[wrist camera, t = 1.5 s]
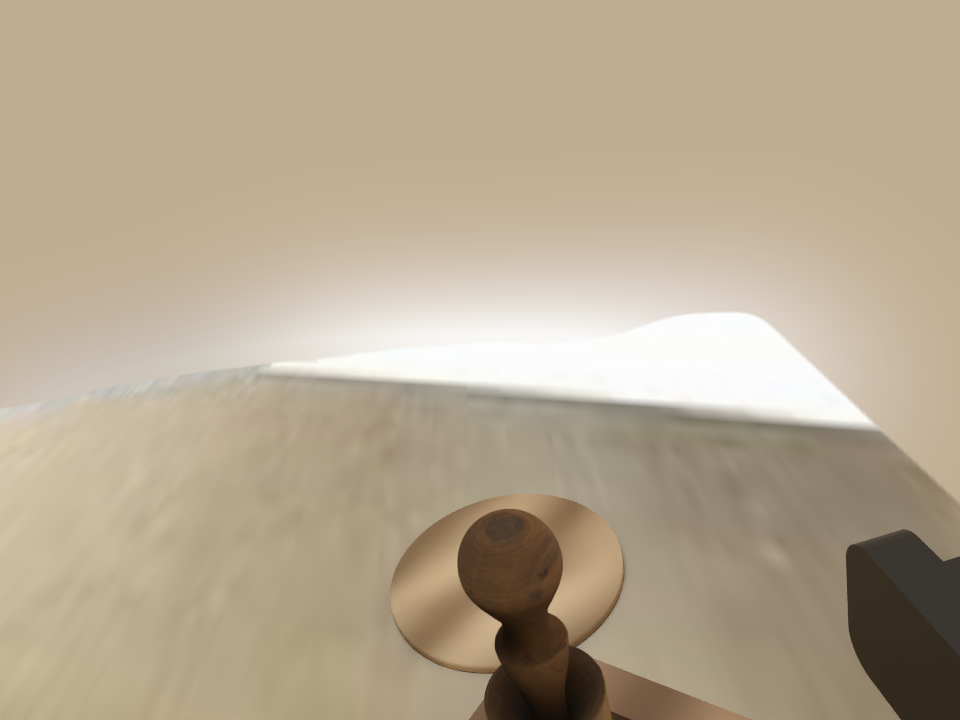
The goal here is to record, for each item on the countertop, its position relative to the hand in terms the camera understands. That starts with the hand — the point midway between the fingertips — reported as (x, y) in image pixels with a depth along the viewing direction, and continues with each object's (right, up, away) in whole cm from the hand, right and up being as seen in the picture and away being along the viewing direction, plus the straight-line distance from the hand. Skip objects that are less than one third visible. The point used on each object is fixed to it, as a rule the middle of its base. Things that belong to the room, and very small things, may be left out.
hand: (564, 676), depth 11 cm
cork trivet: (0, -8, +37) cm, 37 cm away
